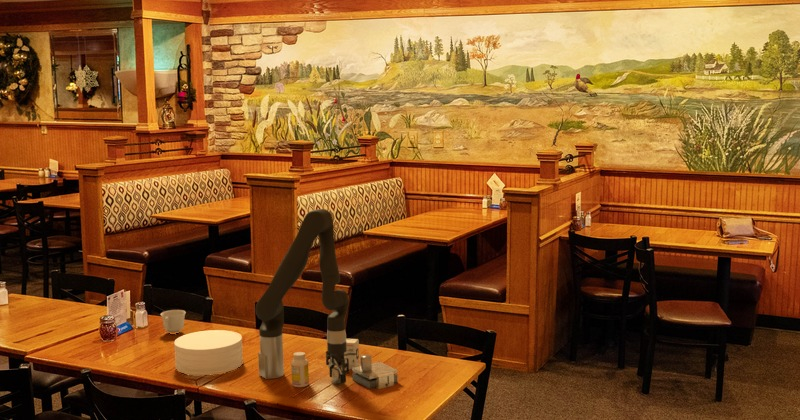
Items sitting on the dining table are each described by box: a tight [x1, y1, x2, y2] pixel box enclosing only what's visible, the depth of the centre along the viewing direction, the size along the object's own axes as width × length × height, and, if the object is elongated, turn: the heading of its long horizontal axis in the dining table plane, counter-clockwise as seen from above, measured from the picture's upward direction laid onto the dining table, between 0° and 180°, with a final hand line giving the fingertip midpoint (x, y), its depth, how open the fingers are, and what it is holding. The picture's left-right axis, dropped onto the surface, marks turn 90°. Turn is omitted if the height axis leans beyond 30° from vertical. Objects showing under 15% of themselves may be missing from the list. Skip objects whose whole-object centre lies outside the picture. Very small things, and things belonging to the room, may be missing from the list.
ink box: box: [344, 338, 360, 370], centre depth 352 cm, size 8×5×12 cm, turn 72°
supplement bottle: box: [290, 351, 310, 388], centre depth 332 cm, size 7×7×13 cm
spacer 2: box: [359, 354, 373, 373], centre depth 333 cm, size 4×4×6 cm
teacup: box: [160, 309, 187, 333], centre depth 405 cm, size 12×15×10 cm
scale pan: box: [352, 361, 398, 379], centre depth 335 cm, size 13×13×2 cm
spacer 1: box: [331, 366, 344, 386], centre depth 334 cm, size 4×4×6 cm
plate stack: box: [173, 329, 244, 376], centre depth 358 cm, size 28×28×12 cm
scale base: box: [351, 371, 399, 390], centre depth 335 cm, size 13×15×5 cm
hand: (337, 379), depth 334 cm, fingers open, 8 cm apart
